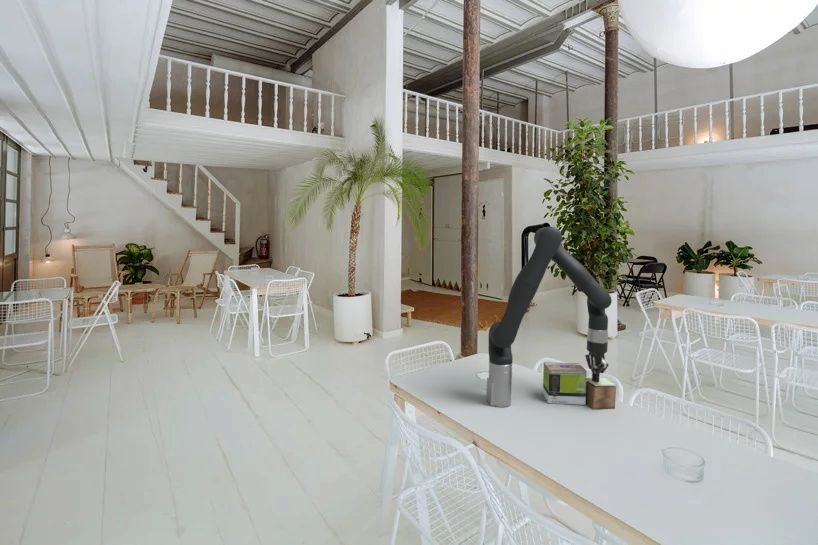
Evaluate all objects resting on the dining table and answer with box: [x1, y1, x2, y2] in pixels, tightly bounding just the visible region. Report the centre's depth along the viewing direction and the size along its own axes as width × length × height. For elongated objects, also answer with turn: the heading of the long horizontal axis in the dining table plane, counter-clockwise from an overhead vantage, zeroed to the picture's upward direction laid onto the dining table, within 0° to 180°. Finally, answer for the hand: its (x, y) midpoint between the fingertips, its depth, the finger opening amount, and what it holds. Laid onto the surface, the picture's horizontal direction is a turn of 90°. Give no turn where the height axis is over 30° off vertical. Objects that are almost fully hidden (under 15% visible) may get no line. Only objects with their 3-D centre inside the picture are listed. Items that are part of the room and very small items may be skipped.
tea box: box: [542, 361, 588, 406], centre depth 170 cm, size 15×10×15 cm, turn 84°
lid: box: [586, 377, 617, 387], centre depth 164 cm, size 9×7×1 cm
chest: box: [585, 380, 617, 410], centre depth 165 cm, size 9×7×9 cm
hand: (595, 381), depth 164 cm, fingers closed
